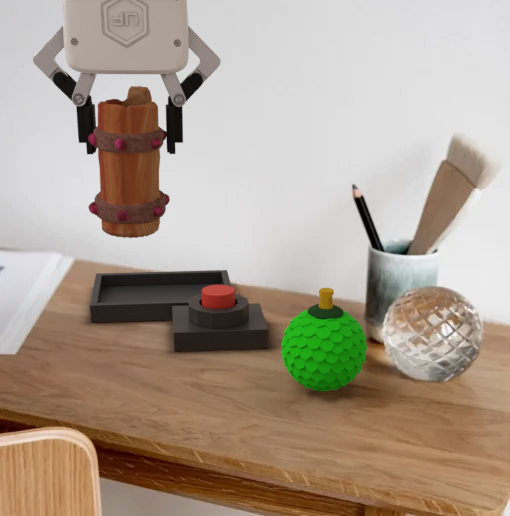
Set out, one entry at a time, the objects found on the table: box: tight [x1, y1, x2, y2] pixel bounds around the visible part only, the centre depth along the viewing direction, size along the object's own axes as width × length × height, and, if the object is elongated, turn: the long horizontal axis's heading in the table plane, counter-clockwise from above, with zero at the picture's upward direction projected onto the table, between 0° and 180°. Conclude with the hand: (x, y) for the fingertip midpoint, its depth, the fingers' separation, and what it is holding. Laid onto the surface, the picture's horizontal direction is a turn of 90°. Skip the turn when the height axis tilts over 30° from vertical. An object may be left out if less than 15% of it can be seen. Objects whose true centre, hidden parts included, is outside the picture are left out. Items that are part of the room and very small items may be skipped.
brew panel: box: [172, 293, 269, 353], centre depth 92 cm, size 10×8×4 cm
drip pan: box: [89, 269, 232, 323], centre depth 102 cm, size 17×12×2 cm
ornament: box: [280, 287, 368, 392], centre depth 79 cm, size 8×8×10 cm
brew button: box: [202, 285, 236, 309], centre depth 91 cm, size 4×4×2 cm
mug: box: [88, 85, 170, 239], centre depth 75 cm, size 12×6×12 cm, turn 176°
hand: (131, 149), depth 74 cm, fingers closed on mug, 6 cm apart
